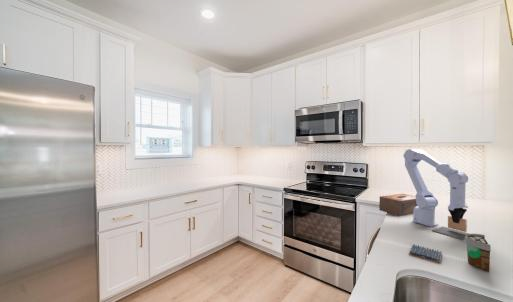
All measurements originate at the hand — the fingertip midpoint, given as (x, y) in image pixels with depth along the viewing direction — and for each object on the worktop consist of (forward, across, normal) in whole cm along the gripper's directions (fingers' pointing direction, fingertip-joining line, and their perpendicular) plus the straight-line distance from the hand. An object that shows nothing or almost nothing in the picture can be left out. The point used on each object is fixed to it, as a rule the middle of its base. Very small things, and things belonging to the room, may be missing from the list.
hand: (457, 222), depth 112 cm
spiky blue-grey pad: (+6, -41, -5) cm, 42 cm away
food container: (+6, -32, -17) cm, 37 cm away
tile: (+4, 0, 0) cm, 4 cm away
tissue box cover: (+6, +16, +37) cm, 40 cm away
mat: (+6, -2, +1) cm, 6 cm away
